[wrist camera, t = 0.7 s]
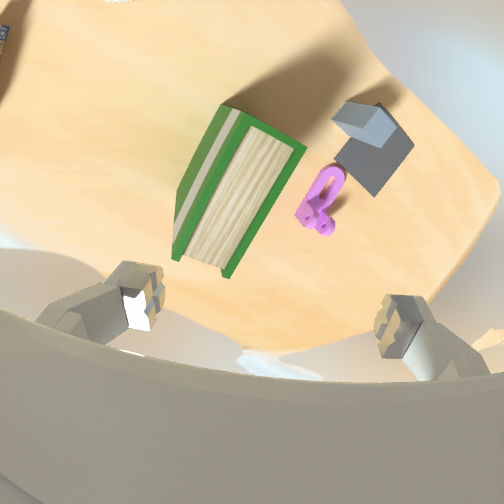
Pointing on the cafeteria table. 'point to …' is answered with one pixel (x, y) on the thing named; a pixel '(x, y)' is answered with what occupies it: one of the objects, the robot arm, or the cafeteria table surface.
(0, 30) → the stack of blocks
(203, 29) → the cafeteria table surface
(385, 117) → the slate block
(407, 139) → the mat
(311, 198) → the bracket
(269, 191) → the hardback book
